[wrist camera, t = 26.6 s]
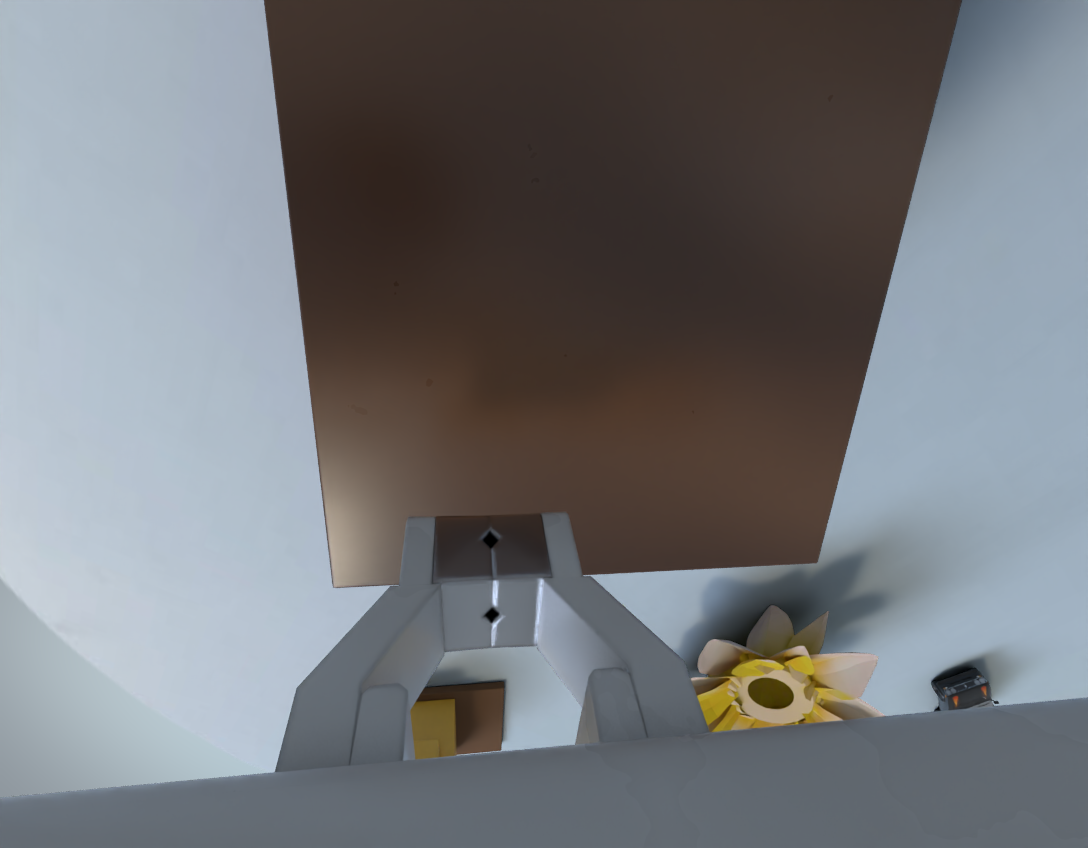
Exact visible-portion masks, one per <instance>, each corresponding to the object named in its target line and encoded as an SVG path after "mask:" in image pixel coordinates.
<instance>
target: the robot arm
mask: <svg viewBox="0 0 1088 848" xmlns="http://www.w3.org/2000/svg"><path fill="white" fill-rule="evenodd" d="M523 646H537V649H538V650H539V651H540V653H541V654H542V655H543V657H544V658H545V659H546V661H547V662H548V663H549V665H550V666H551V667H552V669H553V670H554V671H555V673H556V674H557V675H558V677H559V678H560V679H561V681H562V682H563V683H564V685H565V686H566V687H567V689H568V690H569V691H570V693H571V694H572V695H573V697H574V698H575V699H576V701H577V702H578V703H579V705H580V706H581V707H582V712H581V717H580V722H579V727H578V732H577V738H576V743H575V745H567V746H556V747H546V748H535V749H524V750H513V751H502V752H491V753H480V754H470V755H459V756H448V757H437V758H426V759H415V750H414V741H413V732H412V723H411V714H410V710H411V708H412V707H413V705H414V704H415V702H416V700H417V699H418V697H419V695H420V694H421V692H422V691H423V689H424V687H425V686H426V684H427V682H428V681H429V679H430V678H431V676H432V674H433V673H434V671H435V670H436V668H437V666H438V665H439V663H440V661H441V660H442V658H443V657H444V652H451V651H462V650H472V649H483V648H498V647H523ZM0 848H1088V698H1077V699H1067V700H1056V701H1045V702H1034V703H1023V704H1013V705H1002V706H991V707H980V708H969V709H958V710H947V711H936V712H925V713H915V714H904V715H893V716H882V717H871V718H860V719H849V720H838V721H827V722H817V723H806V724H795V725H784V726H773V727H762V728H751V729H740V730H729V731H719V732H710V731H709V728H708V726H707V723H706V720H705V717H704V714H703V712H702V709H701V706H700V703H699V701H698V698H697V695H696V692H695V690H694V687H693V684H692V681H691V679H690V676H689V673H688V670H687V667H686V665H685V662H684V660H683V659H681V658H680V657H679V656H678V655H677V654H676V653H675V652H674V651H673V650H672V649H670V648H669V647H668V646H667V645H666V644H665V643H664V642H663V641H662V640H661V639H659V638H658V637H657V636H656V635H655V634H654V633H653V632H652V631H651V630H649V629H648V628H647V627H646V626H645V625H644V624H643V623H642V622H641V621H640V620H638V619H637V618H636V617H635V616H634V615H633V614H632V613H631V612H630V611H629V610H627V609H626V608H625V607H624V606H623V605H622V604H621V603H620V602H619V601H617V600H616V599H615V598H614V597H613V596H612V595H611V594H610V593H609V592H608V591H606V590H605V589H604V588H603V587H602V586H601V585H600V584H599V583H598V582H597V581H595V580H594V579H593V578H592V577H591V576H583V574H582V570H581V566H580V561H579V557H578V553H577V549H576V544H575V540H574V536H573V532H572V527H571V523H570V519H569V515H568V514H567V513H566V512H548V513H540V514H539V513H531V514H507V515H486V516H436V517H408V519H407V522H406V528H405V537H404V545H403V554H402V563H401V571H400V580H399V586H390V587H389V588H388V589H387V591H386V592H385V593H384V594H383V595H382V596H381V597H380V598H379V599H378V600H377V601H376V602H375V604H374V605H373V606H372V607H371V608H370V609H369V610H368V611H367V612H366V613H365V614H364V616H363V617H362V618H361V619H360V620H359V621H358V622H357V623H356V624H355V625H354V626H353V627H352V629H351V630H350V631H349V632H348V633H347V634H346V635H345V636H344V637H343V638H342V639H341V641H340V642H339V643H338V644H337V645H336V646H335V647H334V648H333V649H332V650H331V651H330V652H329V654H328V655H327V656H326V657H325V658H324V659H323V660H322V661H321V662H320V663H319V664H318V666H317V667H316V668H315V669H314V670H313V671H312V672H311V673H310V674H309V675H308V676H307V677H306V679H305V680H304V681H303V682H302V683H301V684H300V685H299V686H298V687H297V689H296V693H295V697H294V701H293V704H292V708H291V712H290V716H289V720H288V724H287V727H286V731H285V735H284V739H283V743H282V747H281V750H280V754H279V758H278V762H277V766H276V770H275V772H274V773H263V774H253V775H241V776H230V777H219V778H209V779H197V780H187V781H176V782H165V783H154V784H143V785H132V786H121V787H111V788H99V789H89V790H77V791H67V792H56V793H46V794H34V795H23V796H12V797H1V798H0Z"/></svg>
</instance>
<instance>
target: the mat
mask: <svg viewBox="0 0 1088 848" xmlns="http://www.w3.org/2000/svg"><path fill="white" fill-rule="evenodd" d="M443 699H455V717H456V755H458V754H469V753H479V752H490V751H500V750H501V745H502V725H503V705H504V682H492V683H479V684H466V685H453V686H440V687H427V688H424V689H423V691H422V692H421V694H420V695H419V697H418V699H417V700H416V702H418V701H430V700H443Z"/></svg>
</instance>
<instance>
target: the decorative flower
mask: <svg viewBox="0 0 1088 848" xmlns="http://www.w3.org/2000/svg"><path fill="white" fill-rule="evenodd" d="M828 613H829V611H827V612H826V613H825V614H823V615H821V616H820V617H819V618H817V619H816V620H815V621H814V622H812V623H811V624H810V625H808V626H807V627H805V628H804V629H803V630H801V631H800V632H799V633H797V634H796V635H794V630H793V625H792V622H791V621H790V619H789V617H788V615H787V614H786V613H785V612H784V611H782V610H781V609H780V608H778V607H777V606H774V605H771V606H769V608H768V609H767V610H766V611H765V612H764V614H763V615H762V616H761V617H760V619H759V620H758V622H757V623H756V625H755V626H754V628H753V629H752V630H751V632H750V634H749V636H748V639H747V646H746V647H744V646H742V645H739V644H737V643H734V642H732V641H729V640H718V639H712V640H711V641H709V642H708V643H707V644H706V646H705V647H704V649H703V651H702V652H701V654H700V656H699V659H698V664H697V667H698V669H699V672H700V673H703V674H707V675H708V677H707V678H695V677H693V678H690V679H691V681H692V684H693V687H694V690H695V692H696V695H697V698H698V701H699V703H700V706H701V709H702V712H703V714H704V717H705V720H706V723H707V726H708V728H709V731H710V732H719V731H729V730H740V729H751V728H762V727H773V726H784V725H795V724H806V723H817V722H827V721H838V720H849V719H860V718H871V717H882V716H885V715H883V714H882V713H881V712H879V711H878V710H877V709H875V708H874V707H872V706H871V705H869V704H868V703H866V702H864V701H863V700H861V699H860V698H858V697H861V696H862V694H863V692H864V690H865V688H866V686H867V684H868V682H869V680H870V678H871V676H872V674H873V671H874V669H875V667H876V664H877V661H878V656H875V655H873V654H867V653H854V652H850V653H830V654H819V653H820V650H821V648H822V645H823V642H824V637H825V632H826V625H827V619H828Z"/></svg>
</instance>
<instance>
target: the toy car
mask: <svg viewBox="0 0 1088 848" xmlns="http://www.w3.org/2000/svg"><path fill="white" fill-rule="evenodd" d="M931 685H932V687H933V689H934V691H935V692H936V694H937V695H938V698H939V707H940V709H938V710H935V711H934V712H936V711H947V710H958V709H969V708H980V707H991V706H994V705H993V703H992V701H994V700H992V699H991V689H990V685H989V683H988V681H987V680H986V679H985V678H984V677H983V676H982V674H981V673H980V672H979V671H978V670H977V669H976V668H971V669H968V671H967V672H964V673H961V674H958V675H955V676H952V677H949V678H947V679H944V680H941V681H938V680H937V681H934V682H931ZM994 703H995V704H999V702H998V701H994Z"/></svg>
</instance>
